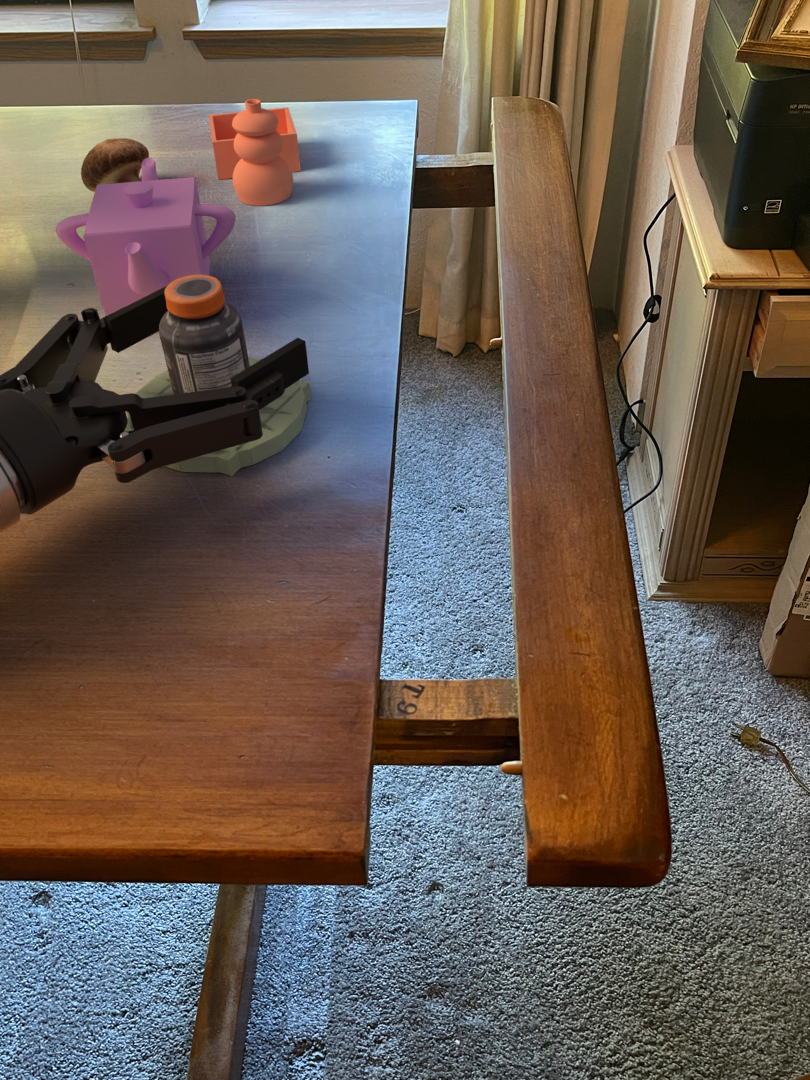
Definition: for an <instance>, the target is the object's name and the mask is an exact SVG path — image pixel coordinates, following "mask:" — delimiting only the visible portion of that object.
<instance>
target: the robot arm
mask: <svg viewBox="0 0 810 1080" xmlns="http://www.w3.org/2000/svg"><path fill="white" fill-rule="evenodd" d="M167 286H168V285H167ZM167 286H165V287H163V288H161V289H159V290H157V291H155V292H153V293H151V294H149V295H147V296H145V297H144V298H142V299H140V300H138V301H136V302H134V303H132V304H130V305H128V306H126V307H123V308H121V309H119V310H118V311H115V312H114V313H111V314H109V315H107V316H105V315H104V316H103V317H101V318H100V315H99V310H98V309H97V308H94V307H87V308H84V309H83V310H81V312H80V315H81V317H82V320H80V319H79V316H78V314H76V313H67V314H65V315H63V316H62V317H60V319H59V320H58V321H57V322H56V323H55V324H54V325H53V326H52V327H51V328H50V329H49V330H48V331H47V332H46V333H45V334H44V336H43V337H41V338H40V340H39V341H37V343H36V344H34V346H33V347H32V348H31V349H30V350H29V351H28V352H27V353H26V354H25V355H24V356H23V357H22V359H20V360H19V362H17V363H16V365H15V366H13V367H12V368H10V369H8V370H6V371H5V372H4V373H2V374H0V534H1V533H2V532H5V531H6V530H8V529H10V528H11V527H12V526H14V525H16V524H17V523H19V521H20V520H21V515H34V514H35V513H37V512H38V511H40V510H42V509H43V508H45V507H47V506H48V505H50V504H52V503H53V502H55V501H56V500H58V499H60V498H62V497H63V496H64V495H67V494H68V493H69V492H70V491H72V490H73V488H75V486H76V483H77V480H78V478H79V475H80V473H81V471H82V470H83V469H84V468H85V467H88V466H90V465H92V464H97V463H100V462H106V464H108V465H109V466H110V467H112V468H113V472H114V475H115V479H116V481H117V482H118V483H120V484H128V483H131V482H133V481H135V480H136V479H139V478H141V477H143V476H144V475H146V474H148V473H149V472H151V471H153V470H156V469H159V468H162V467H165V466H167V465H170V464H174V463H177V462H181V461H184V460H188V459H192V458H195V457H199V456H202V455H206V454H209V453H213V452H216V451H220V450H223V449H227V448H230V447H234V446H237V445H241V444H244V443H248V442H251V441H255V440H258V439H260V438H261V437H262V436H263V433H262V426H261V419H260V413H259V410H261V409H262V408H264V407H265V406H267V405H268V404H270V403H271V402H273V401H274V400H275V399H278V398H279V397H281V396H282V395H283V393H284V392H285V389H286V388H288V387H289V386H291V385H292V384H294V383H295V382H297V381H299V380H302V379H304V378H305V377H306V376H308V375H309V374H310V369H309V360H308V352H307V351H308V350H307V343H306V340H305V339H302V338H300V337H296V338H294V339H293V340H292V341H290V342H288V343H286V344H285V345H283V346H281V347H279V348H278V349H277V350H275V351H273V352H271V353H269V354H268V355H267V356H265V357H263V358H261V359H259V360H260V361H258V362H257V363H255V364H253V365H252V366H250V367H248V368H247V369H245V370H243V371H242V372H240V373H238V374H237V375H235V376H234V377H232V378H230V379H231V385H232V387H228V388H220V389H212V390H205V391H197V392H189V393H181V394H173V395H166V396H158V397H150V398H141V397H140V396H139V395H137V394H136V393H135V392H134V393H132V392H130V393H123V394H118V393H117V392H115V391H113V390H108V389H104V388H103V387H102V386H101V385H100V384H99V383H98V382H96V380H97V377H98V375H99V372H100V370H101V367H102V365H103V362H104V359H105V357H106V355H107V352H108V350H109V347H108V345H109V344H110V348H111V350H112V351H114V352H115V353H117V354H119V353H121V352H123V351H124V350H126V349H128V348H131V347H133V346H134V345H136V344H138V343H140V342H142V341H144V340H146V339H147V338H148V337H151V336H152V335H154V334H157V333H159V325H160V321H161V319H162V317H163V316H164V314H165V313H166V312H167V311H168V309H167V305H166V299H165V289H166V287H167ZM229 403H230V405H227V406H225V405H226V404H229ZM127 412H128V413H129V414H130V418H131V421H132V425H133V429H134V430H133V431H127V432H124V431H125V428H126V426H127V422H128V420H127V418H128V416H127Z"/></svg>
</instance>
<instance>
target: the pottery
mask: <svg viewBox="0 0 810 1080" xmlns="http://www.w3.org/2000/svg"><path fill="white" fill-rule="evenodd" d="M244 106H245V109H243V110H241V111H235V112H225V113H224V112H223V113H216V114H208V121H209V128H210V135H211V143H212V147H213V148H212V149H213V155H214V161H215V168H216V173H217V179H218V181H219V180H228V179H232V184H233V188H234V191H235V193H236V196H237V199H238V200H239V201H240V202H241V203H242V204H245V205H249V206H262V207H263V206H271V205H276V204H279V203H282V202H285V201H286V200H288V199H289V198H290V197H291V196H292V192H293V191H292V190H293V183H294V177H293V173H295V172H301V161H300V151H299V142H298V133H297V130H296V127H295V124H294V121H293V117H292V114H291V111H290V108H289V107H288V106H287V107H277V108H262V101H261V100H260V99H258V98H249V99H246V100H245V101H244Z"/></svg>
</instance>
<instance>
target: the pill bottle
mask: <svg viewBox="0 0 810 1080" xmlns="http://www.w3.org/2000/svg"><path fill="white" fill-rule="evenodd" d="M222 285H223V284H222V282H221V281H220V280H219V279H218V278H216V277H215V276H211V275H209V276H208V275H190V276H185V277H182V278H179V279H176V280H174V281H173V282H171V283H170V284H169V285H168V286H167V287H166V289H165V299H166V305H167V309H168V311H167V312H166V313H165V314H164V316H163V317H162V319H161V321H160V325H159V331H158V334H159V338H160V344H161V348H162V353H163V356H164V360H165V364H166V369H167V371H168V373H169V377H170V381H171V386H172V390H173V394H181V393H189V392H197V391H205V390H212V389H220V388H228V387H232V385H231V379H230V378H232V377H234V376H235V375H237V374H238V373H240V372H242V371H243V370H245V369H247V368H248V367H250V364H249V359H248V357H249V353H248V348H247V342H246V338H245V330H244V326H243V325H244V324H243V320H242V317H241V314H240V313H239V311H238V310H237V308H236V307H234V306H233V305H232V304H230V303H229V302H227V301H225V300H226V298H225V293H224V290H223V289H224V288H223V286H222ZM227 405H230V403H229V404H226V405H225V406H227Z"/></svg>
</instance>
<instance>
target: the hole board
mask: <svg viewBox="0 0 810 1080" xmlns="http://www.w3.org/2000/svg"><path fill="white" fill-rule="evenodd" d="M248 359H249V364H250V366H252V365H253V364H255V363H257V362H258V361H260V360H261V359H258V358H254V357H250V356H248ZM135 394H137V395H139V396H140V397H141V398H150V397H158V396H166V395H173V390H172V386H171V381H170V377H169V373H168V370H166V371H165V372H162V373H160V374H157V375H156V376H155V377H154V378H152V379H151V380H150V381H148V382H147V383H146V384H145V385H143V386H142V387H141V388H140V389H139V390H137V391H136V393H135ZM311 399H312V393H311V383H310V381H307V380H302V379H300V380H299V381H297V382H295V383H294V384H292V385H291V386H289V387H288V388H286V389H285V392H284V393H283V395H282V396H281V397H279V398H278V399H275V400H274V401H273V402H271V403H270V404H268V405H267V406H265V407H264V408H262V409H261V410H259V413H260V419H261V426H262V433H263V436H262V437H261V438H260V439H258V440H255V441H251V442H248V443H244V444H241V445H237V446H234V447H230V448H227V449H223V450H220V451H216V452H213V453H209V454H206V455H202V456H199V457H195V458H192V459H188V460H184V461H181V462H177V463H174V464H170V465H167V466H164V467H166V468H169V469H172V470H174V471H177V472H181V473H209V474H210V473H212V474H216V473H220V474H224V475H227V476H229V477H233V476H234V475H236V473H238V472H239V471H240V469H241V468H245V467H246V468H247V467H250V466H254V465H256V464H258V463H260V462H262V461H264V460H266V459H268V458H270V457H272V456H274V455H276V454H278V453H280V452H282V451H283V450H284V449H285V448H286V447H287V446H288V445H290V443H291V442H292V441H293V440H294V439H295V438H296V437H297V436H298V435H299V434H300V433H301V432H302V430H303V426H304V422H305V419H306V415H307V411H308V409H307V403H308V402H309V400H311ZM126 415H127V420H128V422H127V426H126V428H125V431H124V432H127V431H133V430H134V429H133V425H132V421H131V418H130V414H129V413H128V412H126Z"/></svg>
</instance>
